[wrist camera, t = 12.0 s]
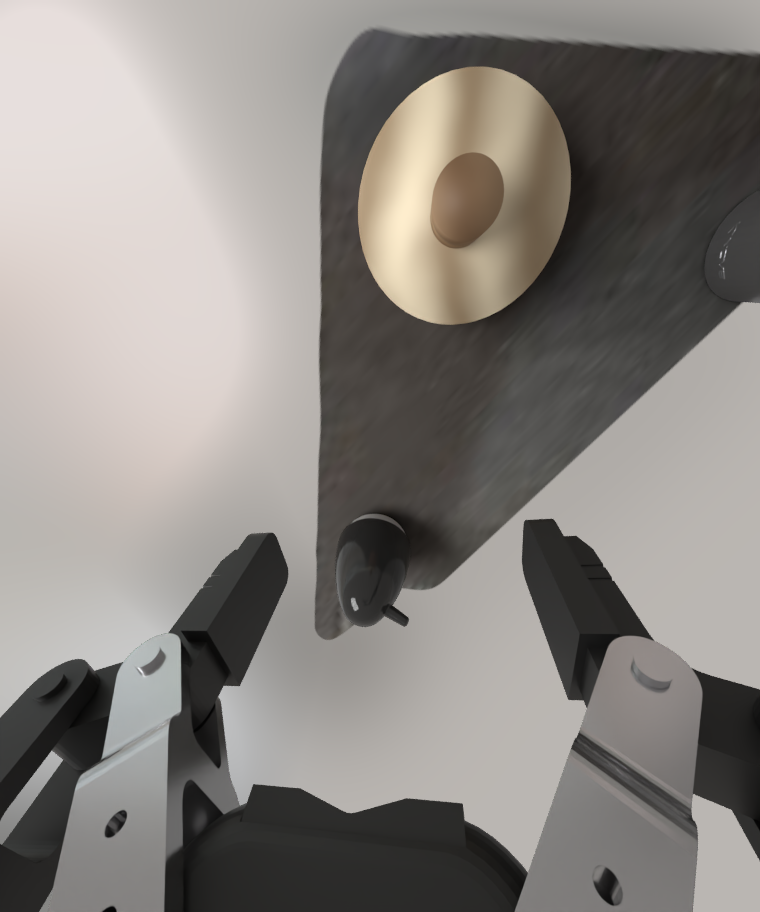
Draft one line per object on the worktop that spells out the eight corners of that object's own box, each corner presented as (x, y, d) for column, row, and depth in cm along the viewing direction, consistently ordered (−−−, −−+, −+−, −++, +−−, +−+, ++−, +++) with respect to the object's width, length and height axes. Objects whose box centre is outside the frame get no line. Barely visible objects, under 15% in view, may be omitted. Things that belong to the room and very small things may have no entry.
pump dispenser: (403, 562, 51) (397, 659, 38) (339, 546, 51) (310, 638, 38) (420, 512, 47) (420, 603, 33) (350, 495, 47) (321, 578, 33)
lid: (576, 43, 21) (627, -38, 16) (556, 308, 28) (587, 312, 23) (342, 109, 24) (319, 58, 19) (376, 335, 31) (367, 345, 26)
